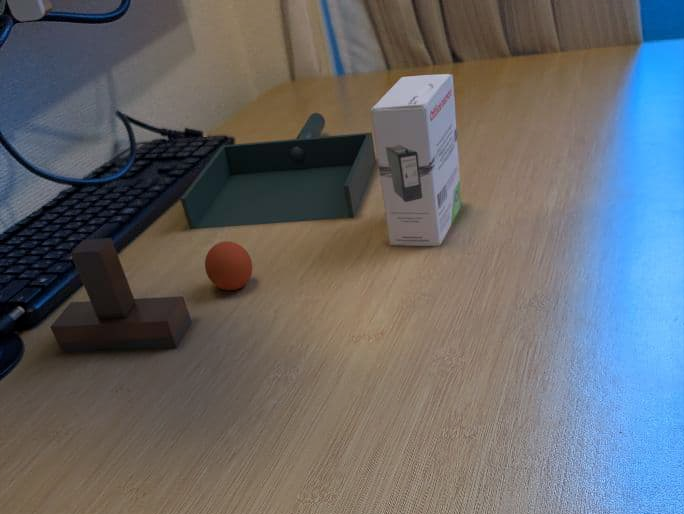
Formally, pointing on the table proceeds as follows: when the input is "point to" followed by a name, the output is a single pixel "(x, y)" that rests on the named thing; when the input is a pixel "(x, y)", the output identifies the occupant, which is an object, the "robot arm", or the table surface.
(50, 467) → the table surface
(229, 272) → the ball
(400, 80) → the ink box
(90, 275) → the brush
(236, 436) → the table surface
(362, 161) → the dustpan
